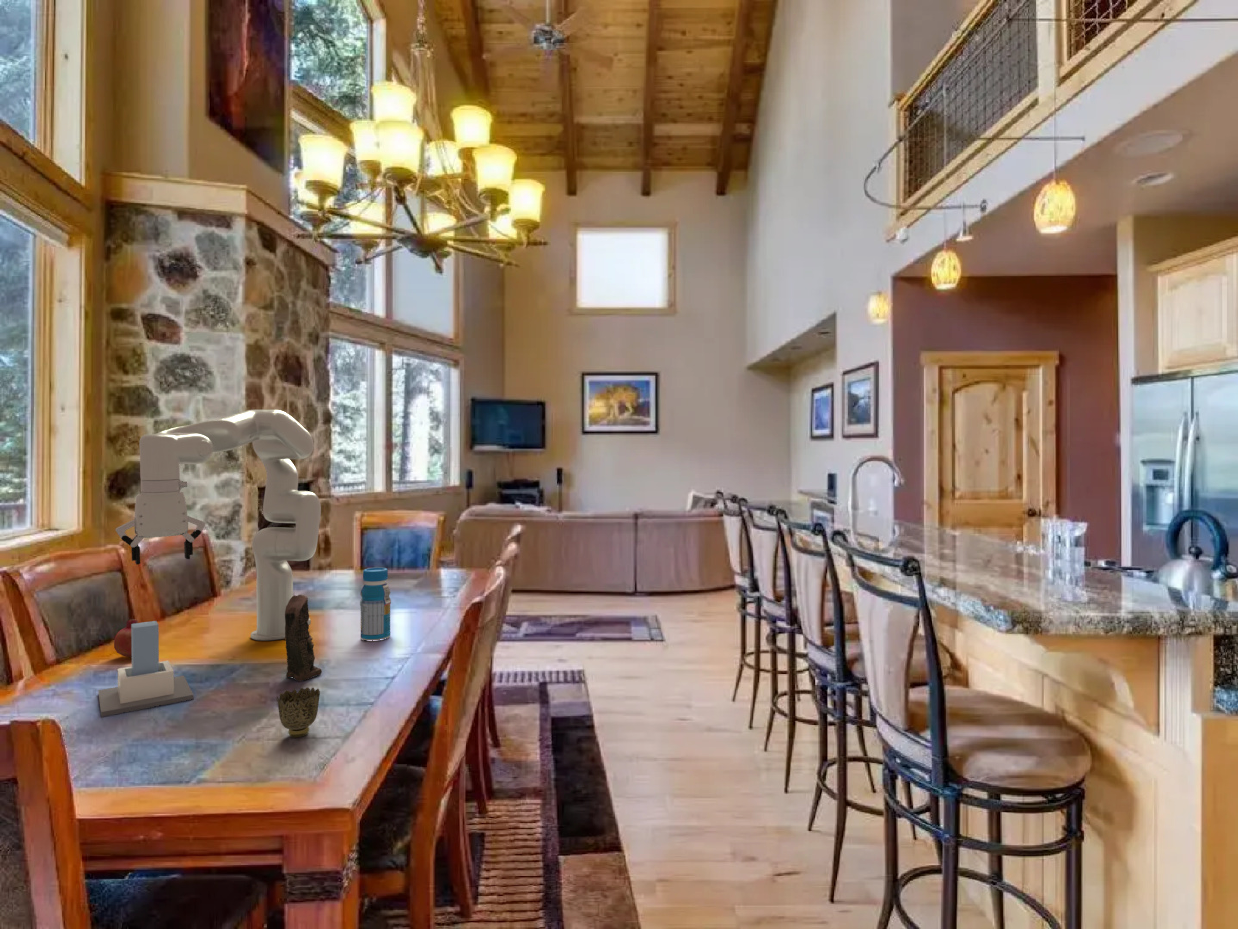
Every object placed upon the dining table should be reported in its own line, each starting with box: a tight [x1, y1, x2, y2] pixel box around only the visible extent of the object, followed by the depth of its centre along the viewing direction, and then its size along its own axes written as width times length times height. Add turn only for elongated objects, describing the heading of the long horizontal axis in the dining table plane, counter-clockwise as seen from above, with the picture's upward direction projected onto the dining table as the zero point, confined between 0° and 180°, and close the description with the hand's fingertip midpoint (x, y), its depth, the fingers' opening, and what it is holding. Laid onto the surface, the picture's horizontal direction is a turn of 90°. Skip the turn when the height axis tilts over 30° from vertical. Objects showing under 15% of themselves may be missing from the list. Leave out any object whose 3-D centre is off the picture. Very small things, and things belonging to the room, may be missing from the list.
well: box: [97, 660, 194, 718], centre depth 150 cm, size 16×16×6 cm
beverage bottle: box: [359, 567, 392, 642], centre depth 197 cm, size 8×8×20 cm
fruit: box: [113, 618, 139, 658], centre depth 178 cm, size 8×8×10 cm
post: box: [131, 620, 160, 676], centre depth 150 cm, size 4×4×15 cm
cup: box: [276, 687, 321, 739], centre depth 130 cm, size 8×7×8 cm
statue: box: [284, 594, 323, 682], centre depth 163 cm, size 7×7×20 cm
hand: (163, 561), depth 158 cm, fingers open, 9 cm apart
